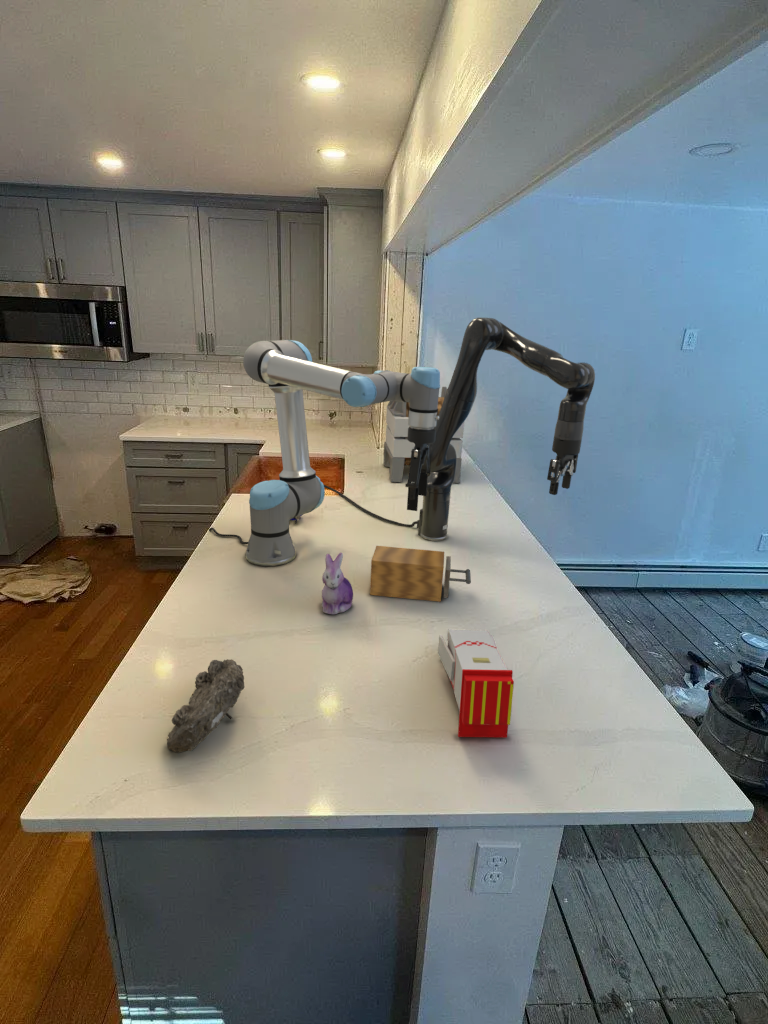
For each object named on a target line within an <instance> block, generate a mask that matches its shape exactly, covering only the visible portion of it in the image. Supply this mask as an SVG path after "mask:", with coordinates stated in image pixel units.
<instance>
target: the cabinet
mask: <svg viewBox="0 0 768 1024" xmlns="http://www.w3.org/2000/svg"><path fill="white" fill-rule="evenodd" d="M444 568H445V551H441V550H431V549H430V550H429V549H419V548H407V547H397V546H385V545H375V548H374V552H373V554H372V557H371V561H370V587H369V595H370V596H376V597H377V596H378V597H388V598H399V599H408V600H409V599H410V600H420V601H430V602H439V603H440V602H441V601H442V591H443V590H442V588H443V582H444V581H443V579H444V570H445V569H444Z"/></svg>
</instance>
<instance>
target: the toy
mask: <svg viewBox="0 0 768 1024" xmlns="http://www.w3.org/2000/svg"><path fill="white" fill-rule="evenodd" d="M446 640H447V643H446V641H445V639H444V636H443V635H442V634H439V637H438V646H437V656H438V657H439V659H440V661H441V663H442V666H443V668H444V670H445V672H446V674H447V677H448V679H449V681H450V684H451V687H452V690H453V693H454V697H455V701H456V705H457V708H458V711H459V714H458V715H459V716H458V730H457V731H458V732H457V737H458V738H508V731H509V726H510V725H511V717H512V707H513V697H514V696H513V695H514V684H515V680H514V679H513V673H514V671H513V670H512V669H508V667H507V665H506V662H505V661H504V659H503V658H502V655H501V653H500V651H499V649H498V647H497V643H496V639H495V637H494V635H493V634H491V632H490V631H489V629H467V628H466V629H465V628H463V629H461V628H460V629H459V628H448V630H447V639H446Z"/></svg>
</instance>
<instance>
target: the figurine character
mask: <svg viewBox="0 0 768 1024" xmlns="http://www.w3.org/2000/svg"><path fill="white" fill-rule="evenodd" d="M301 517H302V515H300V516H297V517H295V518H292V519H290V520H289V522H290V521H293V522H294V524H298V520H300V519H301Z"/></svg>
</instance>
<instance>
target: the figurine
mask: <svg viewBox="0 0 768 1024" xmlns="http://www.w3.org/2000/svg"><path fill="white" fill-rule="evenodd" d="M343 557H344V553H343V552H339V553H337V556H336V557H335V558H334V559H333V558H332V556H331V554H330V553H326V555H325V558H324V560H325V562H324V563H325V568H324V571H323V573H322V577H321V578H322V579H321V580H322V583H323V587H322V590H321V599H322V603H321V607H322V612H323V613H325V614H329V615H337V614H339V613H344V612H347V611H348V610H350V608H351V607H352V606H353V599H354V590H353V585H352V584H351V582H350V580H349V579H348V578H346V577H345V575H344V572H343V570H342V568H341V565H342V562H343Z"/></svg>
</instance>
